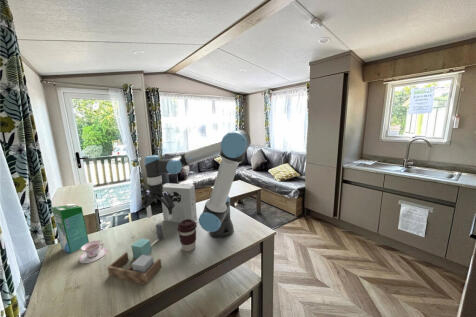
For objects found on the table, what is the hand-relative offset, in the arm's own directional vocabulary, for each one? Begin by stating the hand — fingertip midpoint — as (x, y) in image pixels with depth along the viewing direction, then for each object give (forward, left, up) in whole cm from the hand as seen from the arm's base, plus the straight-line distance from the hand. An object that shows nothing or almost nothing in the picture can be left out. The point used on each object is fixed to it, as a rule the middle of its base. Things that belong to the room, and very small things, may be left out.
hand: (159, 218), depth 109 cm
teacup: (+26, +21, -13) cm, 36 cm away
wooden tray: (-4, +25, -13) cm, 28 cm away
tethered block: (+1, +9, -13) cm, 15 cm away
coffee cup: (-20, +4, -13) cm, 24 cm away
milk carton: (+43, +18, -13) cm, 48 cm away
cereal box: (+1, -21, -13) cm, 25 cm away
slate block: (-9, +25, -13) cm, 30 cm away
